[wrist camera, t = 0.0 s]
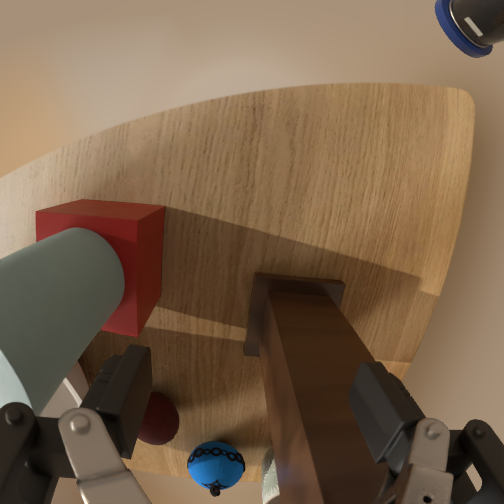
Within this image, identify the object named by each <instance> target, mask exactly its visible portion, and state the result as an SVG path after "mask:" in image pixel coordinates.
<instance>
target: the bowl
mask: <svg viewBox="0 0 504 504" xmlns="http://www.w3.org/2000/svg"><path fill="white" fill-rule="evenodd" d="M88 390H89V386H88V383H87V380H86V378H85V375H84V373H83V370H82V368H81V366H80V364H79V362H78V360H77V362H76V363H75V365H74V366H73V367H72V369H71V370H70V372H69V373H68V375H67V376H66V377H65V379H64V380H63V382H62V383H61V385H60V386H59V388H58V389H57V391H56V392H55V394H54V395H53V397H52V398H51V400H50V401H49V403H48V404H47V406H46V407H45V409H44V410H43V412H42V413H41V415H40V417H52V418H60V417H61V415H62V414H63V413H64V412H66V411H67V410H69V409H72V408H78V407H79V406H80V404H81V403H82V401H83V399H84V397H85V395H86V394H87V392H88Z"/></svg>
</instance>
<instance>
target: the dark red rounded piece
mask: <svg viewBox="0 0 504 504" xmlns="http://www.w3.org/2000/svg"><path fill="white" fill-rule="evenodd" d="M178 428H179V415H178V411H177V409H176V407H175V406H174V404H173V403H172V402H171V401H170V400H169V399H168V398H167V397H165V396H164V395H162V394H159V393H156V392H151V395H150V398H149V401H148V404H147V408H146V411H145V414H144V417H143V420H142V423H141V427H140V430H139V433H138V437H137V438H138V439H140V440H141V441H143V442H146V443H149V444H152V445H163V444H166V443H167V442H169V441H170V440H172V439H173V438H174V436H175V435H176V433H177V431H178Z"/></svg>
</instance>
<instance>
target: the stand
mask: <svg viewBox="0 0 504 504" xmlns="http://www.w3.org/2000/svg"><path fill="white" fill-rule="evenodd" d="M344 288H345V284H344V282H343V281H339V280H328V279H317V278H306V277H296V276H286V275H276V274H266V273H256V272H255V274H254V281H253V288H252V295H251V302H250V309H249V316H248V323H247V330H246V337H245V344H244V356H257V357H260V360H261V367H262V374H263V382H264V389H265V396H266V403H267V410H268V417H269V424H270V431H271V438H272V445H273V452H274V459H275V466H276V473H277V480H278V487H279V494H280V501H281V504H372V502H373V499H374V497H375V495H376V492H377V490H378V488H379V485H380V483H381V480H382V478H383V475H384V472H385V470H386V468H387V467H388V466H389V465H388V462H384V463H379V464H375V461H374V459H373V457H372V455H371V452H370V450H369V448H368V446H367V443H366V441H365V439H364V437H363V434H362V432H361V430H360V428H359V425H358V423H357V421H356V419H355V417H354V414H353V412H352V410H351V408H350V405H349V401H348V396H349V391H350V388H351V386H352V383H353V381H354V378H355V376H356V373H357V371H358V368H359V366H360V364H361V363H362V362H376V361H375V359H374V358H373V356H372V355H371V354H370V352H369V351H368V349H367V348H366V346H365V345H364V343H363V342H362V341H361V339H360V338H359V336H358V335H357V333H356V332H355V331H354V329H353V328H352V326H351V325H350V323H349V322H348V321H347V319H346V318H345V316H344V315H343V314H342V312H341V311H340V309H339V308H340V304H341V300H342V296H343V292H344Z"/></svg>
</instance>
